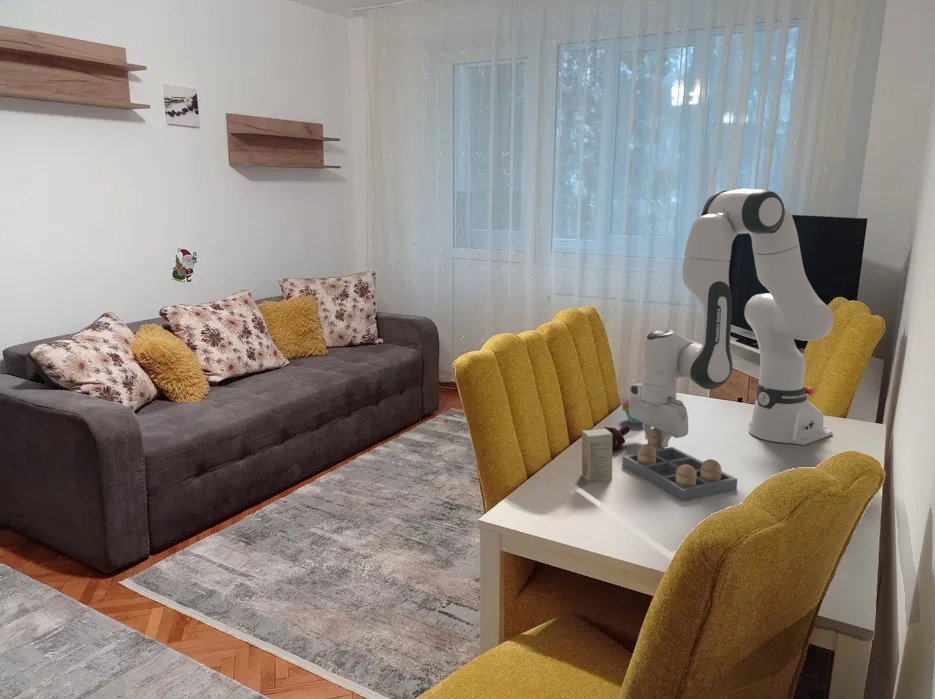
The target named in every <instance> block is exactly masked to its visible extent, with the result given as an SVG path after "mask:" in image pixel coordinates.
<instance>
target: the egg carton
mask: <svg viewBox="0 0 935 699" xmlns="http://www.w3.org/2000/svg"><path fill="white" fill-rule="evenodd" d="M703 462H704V461H702V460H700V459H698V458H695V457H694V456H692V455H690V454H688V453H686V452H684V451H682V450H680V449H678V448H676V447H673V446H670V447H665V448H664V449H659V450H656V463H655V464H649V465H642V464H640V463H639V462H637V453H634V454H628V455H627V454H626V455H623V456H622V467H623V468H625V469H627V470H629V471H630V472H632V473H634V474H635V475H637V476H638V477H639V478H642V479H644V480H645V481H647V482H649V483H651V484H652V485H654V486H656V488H659V489H661V490H662V491H664V492H666V493H668V494H669V495H671V496H672V497H674V498H676V499H678V500H679V501H681V502H687V501H691V500H692V501H693V500H697V499H700V498H705V497H709V496H714V495H718V494H722V493H723V494H724V493H727V492H733V491H737V490H738V489H737V488H738V478H736V477H734V476H733V475H730V474H728V473H727V472H724V471H722V470H721V480H719V481H715V482H710V483H709V482H707V481H705V480H704V479H702V478H700V471H701V465H702V463H703ZM684 464H688V465H691V466H692V467H693V468H694V469H695V470H696V474H697V477H696V486H691V487H687V488H683V487H681V486H679V485H678V484H676V483H675V479H676V470H677V468H678V467H679V466H681V465H684Z"/></svg>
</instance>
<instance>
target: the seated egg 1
mask: <svg viewBox="0 0 935 699" xmlns="http://www.w3.org/2000/svg"><path fill="white" fill-rule="evenodd" d="M636 454H637V462H639V463H640V464H642V465H649V464H655V463H656V450H655V448H654V447H653V446H651V445H649V444H648V443H646V444H642V445H640V446H639V447H638V449H637V452H636Z"/></svg>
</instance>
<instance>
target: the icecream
mask: <svg viewBox="0 0 935 699" xmlns="http://www.w3.org/2000/svg"><path fill="white" fill-rule="evenodd" d="M604 428H606V429H607V430H608V431H610V432H611V433H612V452H617V451H618V450H621V447H623V445H624V444H625V443H626V439H625V438H624V436H625V435H628V434H629V433H630V429H631V428H630V427H629V426H628V425H627V426H626V425H625V426H621V427H620V428H619V429H617V428H616V427H608V426H604V427H603V428H602V429H604Z"/></svg>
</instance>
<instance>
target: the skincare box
mask: <svg viewBox="0 0 935 699" xmlns="http://www.w3.org/2000/svg"><path fill="white" fill-rule="evenodd" d="M603 428H604V427H603ZM603 428H596V429H587V430H582V431H581V433H582V434H581V475H582V477H583V479H585V480H586V481H587V482H598V481H600V482H601V481H609V480H613V451H612V433H611V432H610V431H608V430H607V429H606V428H604V429H603Z"/></svg>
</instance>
